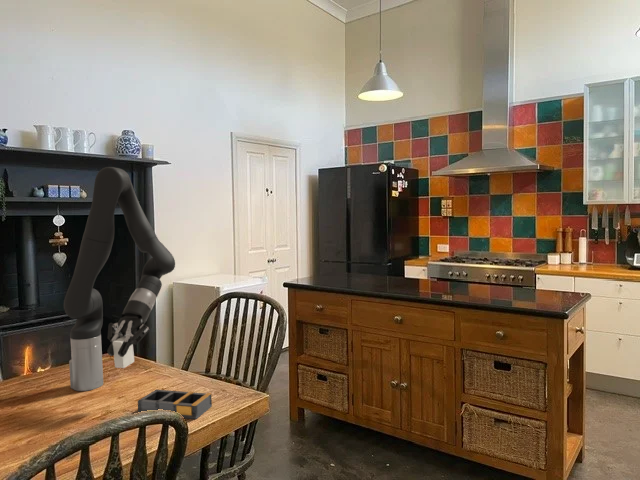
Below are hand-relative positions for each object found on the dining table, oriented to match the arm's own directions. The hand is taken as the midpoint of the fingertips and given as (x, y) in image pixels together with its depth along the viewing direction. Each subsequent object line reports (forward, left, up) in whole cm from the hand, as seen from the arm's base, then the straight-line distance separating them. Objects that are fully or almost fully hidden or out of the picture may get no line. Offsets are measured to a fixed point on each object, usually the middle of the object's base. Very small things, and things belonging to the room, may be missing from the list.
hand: (115, 354), depth 137 cm
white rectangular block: (0, +4, -4) cm, 6 cm away
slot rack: (+17, +3, -16) cm, 24 cm away
